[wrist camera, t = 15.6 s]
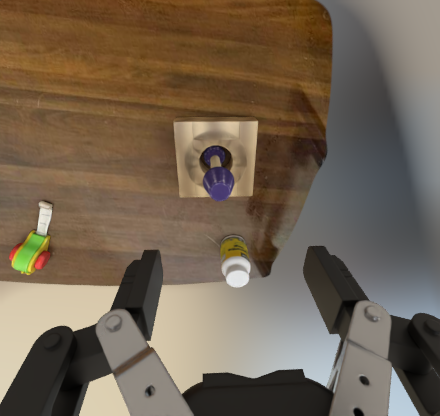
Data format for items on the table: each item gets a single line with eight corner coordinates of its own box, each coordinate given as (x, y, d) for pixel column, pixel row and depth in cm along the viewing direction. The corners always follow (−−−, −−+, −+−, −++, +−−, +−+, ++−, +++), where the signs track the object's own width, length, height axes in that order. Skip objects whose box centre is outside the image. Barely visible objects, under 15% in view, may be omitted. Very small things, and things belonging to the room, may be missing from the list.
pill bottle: (249, 237, 58) (258, 271, 48) (240, 256, 61) (246, 292, 51) (224, 231, 57) (228, 265, 47) (216, 251, 60) (218, 286, 50)
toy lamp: (205, 139, 46) (205, 174, 32) (230, 144, 47) (240, 180, 32) (201, 164, 48) (199, 206, 34) (225, 168, 49) (232, 211, 35)
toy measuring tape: (20, 260, 58) (0, 281, 53) (32, 194, 50) (9, 211, 44) (49, 268, 60) (32, 290, 54) (65, 207, 52) (47, 224, 46)
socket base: (254, 116, 44) (258, 121, 41) (249, 187, 51) (252, 196, 48) (175, 117, 44) (173, 121, 40) (181, 188, 51) (179, 197, 47)
